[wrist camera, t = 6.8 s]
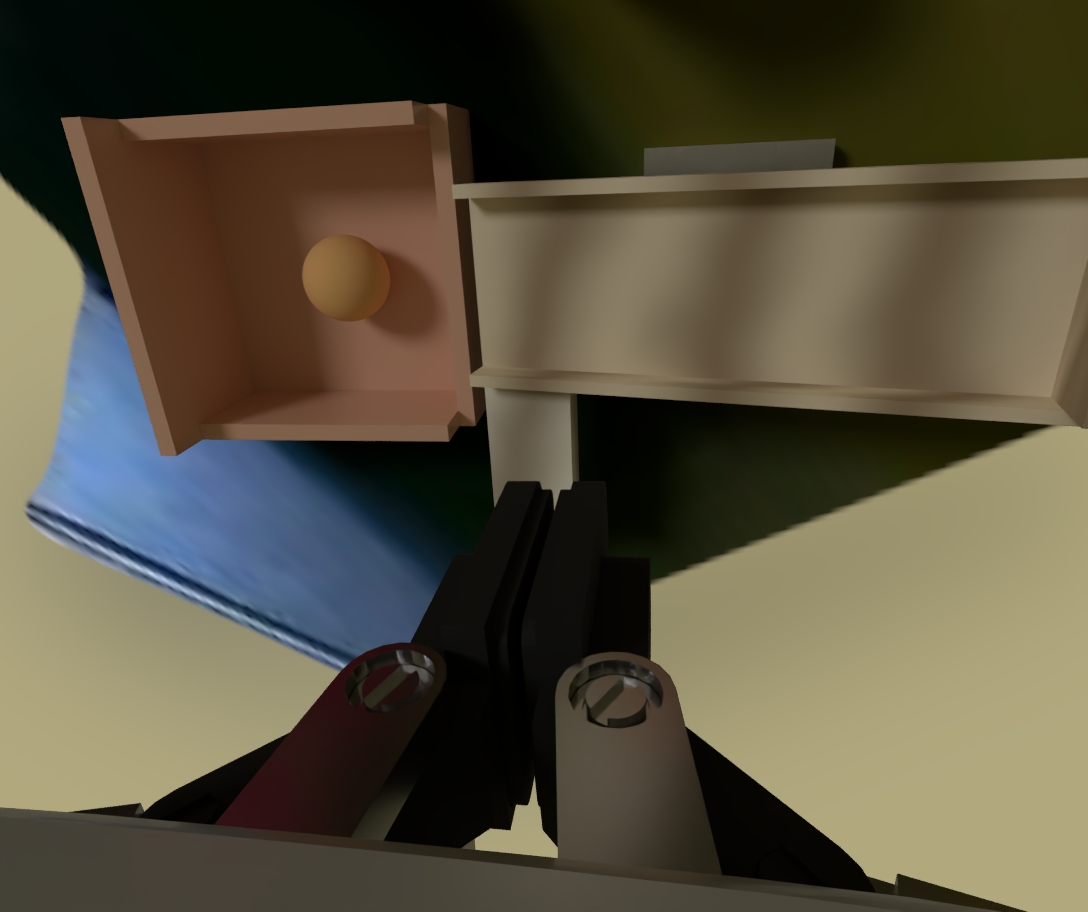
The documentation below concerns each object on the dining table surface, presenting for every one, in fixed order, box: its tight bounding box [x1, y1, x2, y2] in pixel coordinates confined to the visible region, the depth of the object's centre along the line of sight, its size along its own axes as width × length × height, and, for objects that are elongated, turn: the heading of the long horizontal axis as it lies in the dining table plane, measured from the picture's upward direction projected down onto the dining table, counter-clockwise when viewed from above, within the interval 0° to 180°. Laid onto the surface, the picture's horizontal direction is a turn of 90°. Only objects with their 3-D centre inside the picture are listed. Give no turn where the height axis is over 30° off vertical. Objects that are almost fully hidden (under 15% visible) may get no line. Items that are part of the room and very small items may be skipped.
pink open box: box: [61, 101, 486, 456], centre depth 31 cm, size 14×14×8 cm
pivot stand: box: [644, 139, 836, 176], centre depth 29 cm, size 8×10×6 cm
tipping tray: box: [452, 158, 1088, 510], centre depth 26 cm, size 22×16×6 cm
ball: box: [302, 235, 390, 322], centre depth 32 cm, size 4×4×4 cm
